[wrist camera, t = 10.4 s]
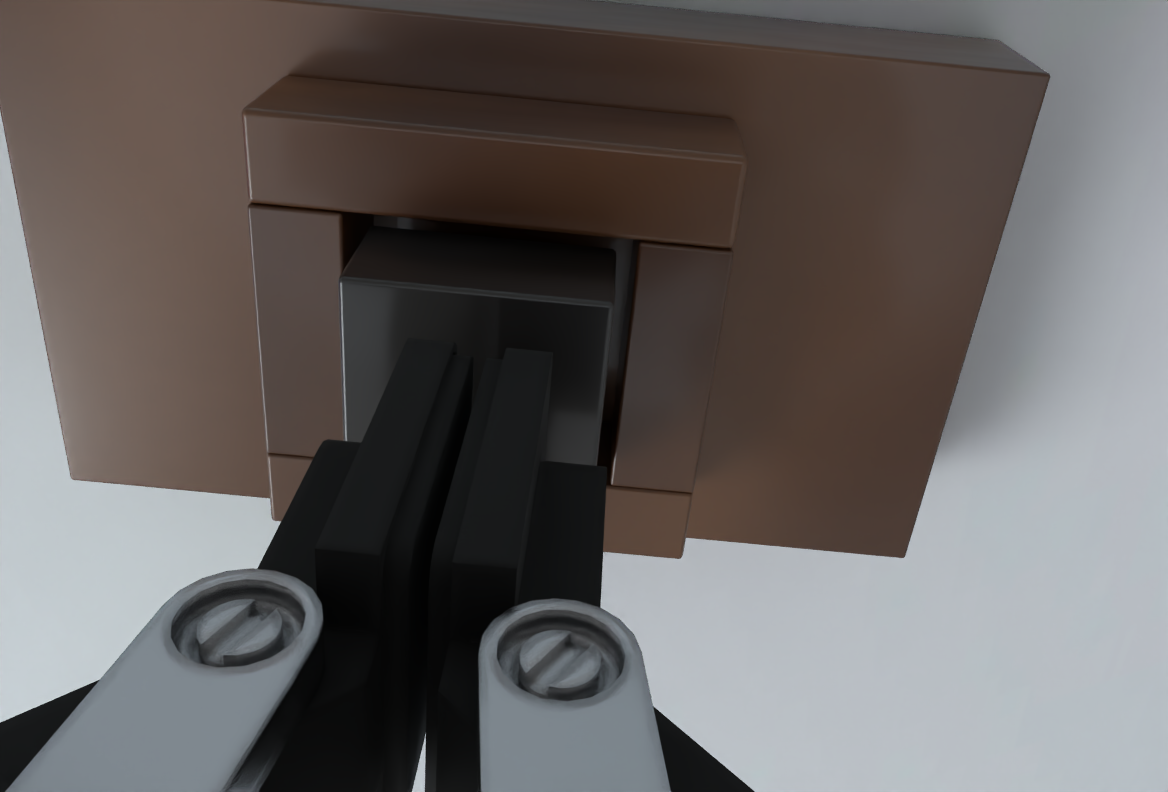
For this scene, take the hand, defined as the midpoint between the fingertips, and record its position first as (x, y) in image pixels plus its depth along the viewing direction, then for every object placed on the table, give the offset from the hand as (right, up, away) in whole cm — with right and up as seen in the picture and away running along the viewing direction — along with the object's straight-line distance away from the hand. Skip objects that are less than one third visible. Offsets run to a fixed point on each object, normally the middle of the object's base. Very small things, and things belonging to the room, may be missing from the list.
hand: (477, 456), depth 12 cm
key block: (0, +3, +5) cm, 6 cm away
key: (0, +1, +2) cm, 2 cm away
